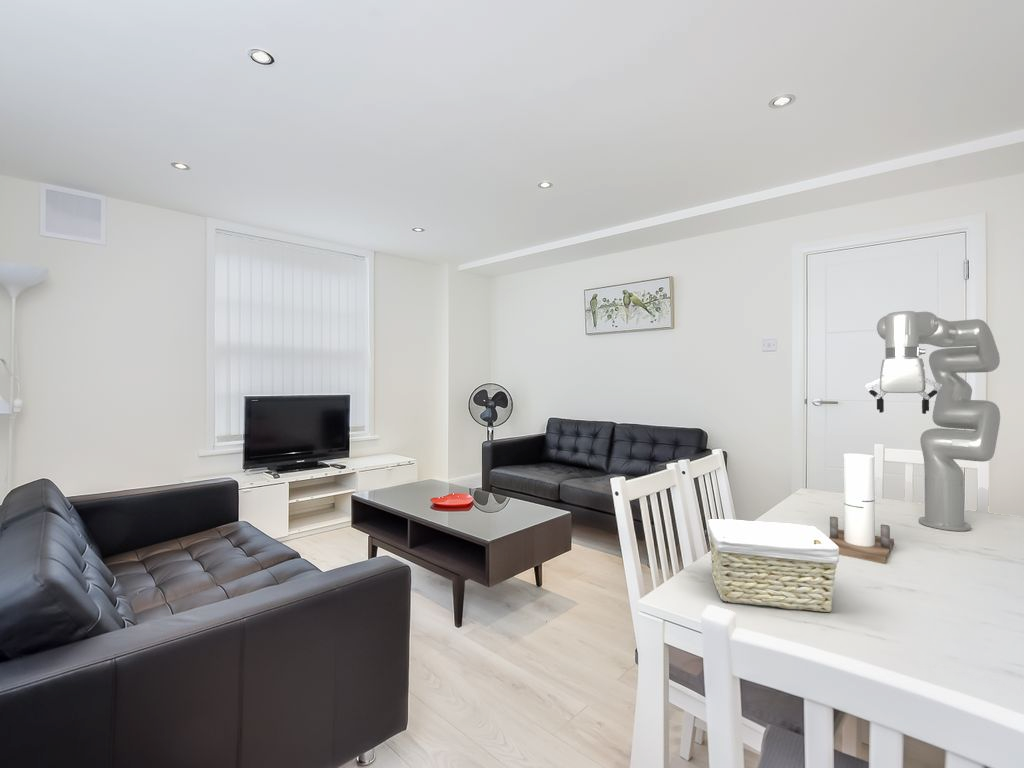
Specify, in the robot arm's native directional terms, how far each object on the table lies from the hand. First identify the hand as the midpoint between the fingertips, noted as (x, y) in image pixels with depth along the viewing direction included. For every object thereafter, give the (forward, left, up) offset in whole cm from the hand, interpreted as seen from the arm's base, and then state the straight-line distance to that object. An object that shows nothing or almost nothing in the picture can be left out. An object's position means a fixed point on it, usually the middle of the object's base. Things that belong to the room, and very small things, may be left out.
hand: (902, 412), depth 138 cm
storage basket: (+61, -19, -39) cm, 75 cm away
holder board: (+12, -9, -38) cm, 41 cm away
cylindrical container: (+12, -9, -37) cm, 40 cm away
